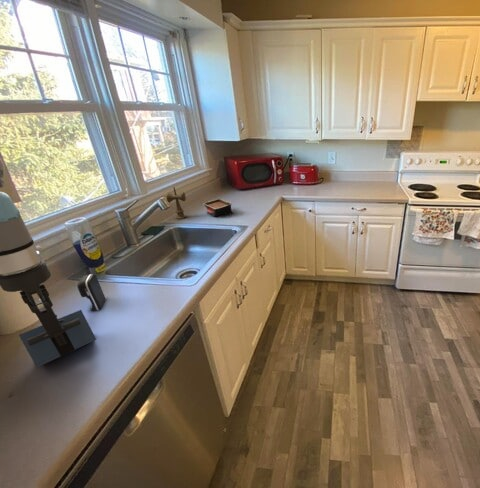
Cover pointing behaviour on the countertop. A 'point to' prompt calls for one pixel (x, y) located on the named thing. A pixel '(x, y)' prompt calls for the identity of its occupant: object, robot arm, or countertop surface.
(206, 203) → the square planter pot
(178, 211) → the kendama
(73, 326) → the handled carry box
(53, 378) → the countertop surface
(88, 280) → the battery charger
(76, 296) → the countertop surface
